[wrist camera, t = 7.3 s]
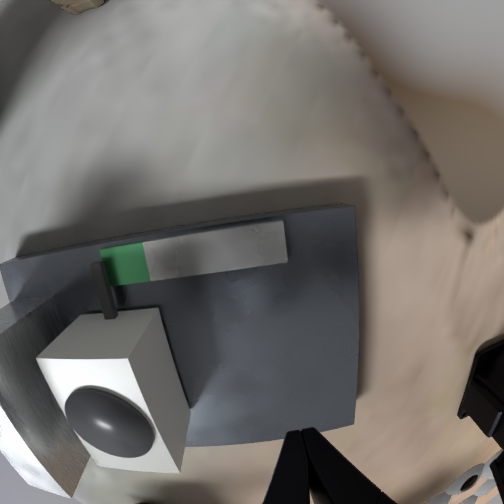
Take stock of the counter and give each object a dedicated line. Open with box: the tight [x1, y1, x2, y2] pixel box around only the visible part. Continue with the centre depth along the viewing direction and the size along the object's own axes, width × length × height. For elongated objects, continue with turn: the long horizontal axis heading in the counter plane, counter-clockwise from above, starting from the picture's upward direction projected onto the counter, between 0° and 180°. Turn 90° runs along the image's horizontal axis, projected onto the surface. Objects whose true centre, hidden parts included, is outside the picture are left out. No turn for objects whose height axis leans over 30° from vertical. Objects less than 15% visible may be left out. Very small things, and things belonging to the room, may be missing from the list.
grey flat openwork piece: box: [424, 449, 503, 504], centre depth 22 cm, size 20×20×2 cm
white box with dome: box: [36, 260, 191, 473], centre depth 10 cm, size 6×8×4 cm, turn 8°
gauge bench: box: [0, 203, 359, 498], centre depth 11 cm, size 18×12×8 cm
